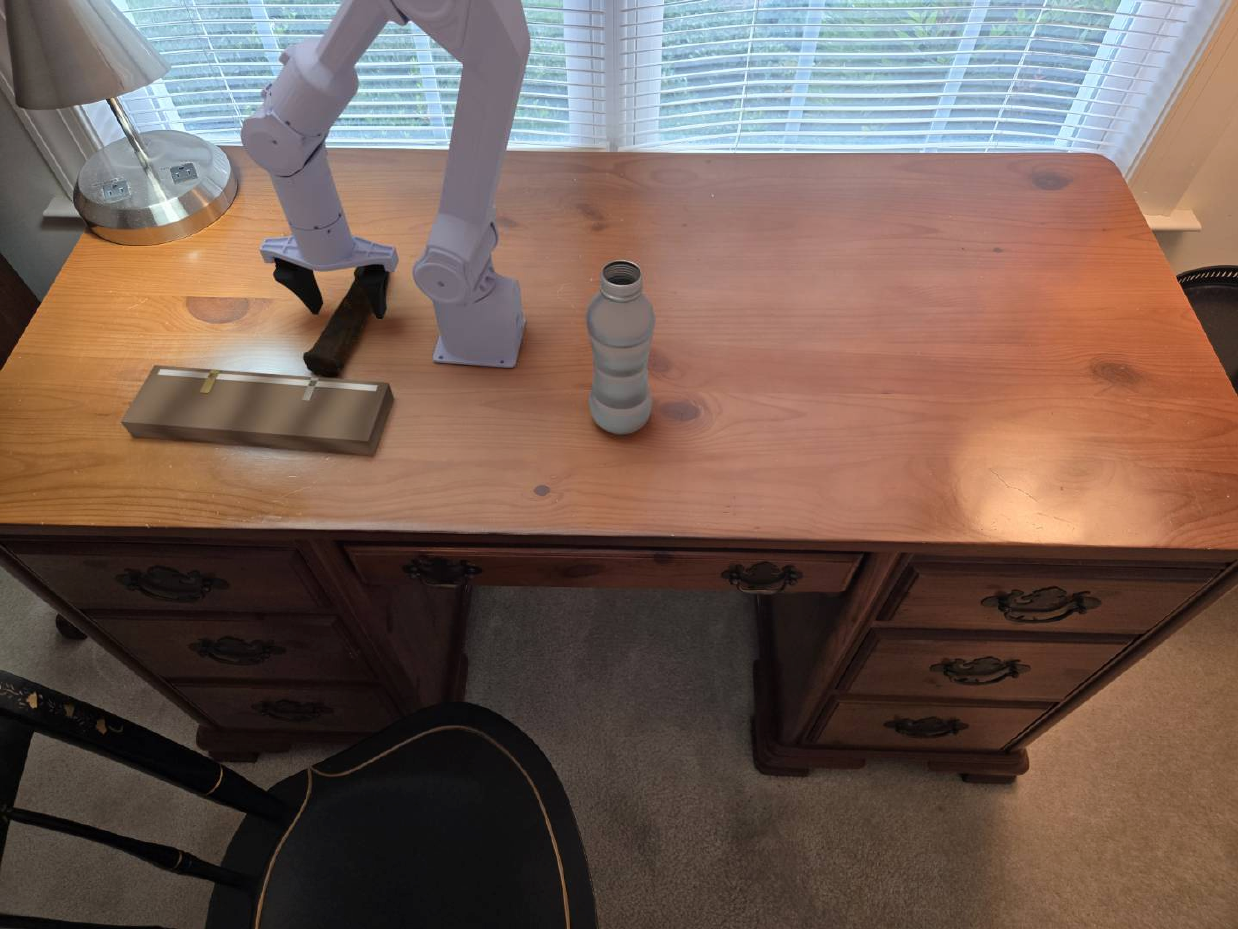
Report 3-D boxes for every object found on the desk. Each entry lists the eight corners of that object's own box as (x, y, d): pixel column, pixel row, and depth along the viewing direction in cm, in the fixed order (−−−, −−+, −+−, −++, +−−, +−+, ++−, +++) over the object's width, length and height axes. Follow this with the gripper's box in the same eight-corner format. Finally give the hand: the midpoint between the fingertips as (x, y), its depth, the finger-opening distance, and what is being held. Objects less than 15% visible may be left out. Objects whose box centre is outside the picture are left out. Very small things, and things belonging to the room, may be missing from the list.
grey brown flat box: (393, 397, 87) (388, 381, 85) (373, 455, 82) (367, 440, 80) (165, 380, 88) (154, 364, 86) (132, 436, 84) (119, 421, 81)
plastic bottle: (631, 452, 83) (635, 308, 67) (577, 425, 85) (569, 279, 69) (662, 412, 86) (673, 266, 70) (609, 387, 88) (608, 239, 72)
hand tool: (341, 383, 89) (329, 354, 85) (308, 376, 89) (295, 347, 85) (409, 275, 99) (402, 245, 96) (380, 270, 100) (371, 239, 96)
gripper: (393, 194, 84) (418, 292, 95) (260, 185, 85) (300, 284, 96) (375, 236, 80) (403, 333, 91) (235, 227, 81) (280, 324, 92)
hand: (349, 311), depth 93 cm, fingers open, 7 cm apart
